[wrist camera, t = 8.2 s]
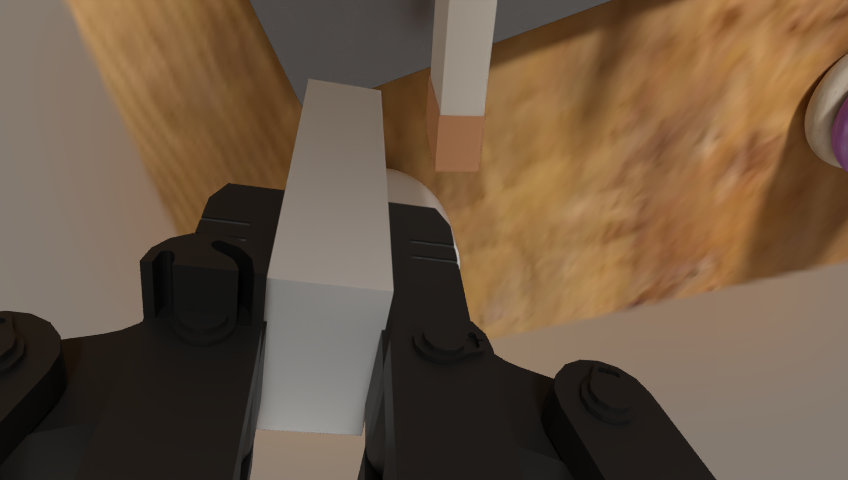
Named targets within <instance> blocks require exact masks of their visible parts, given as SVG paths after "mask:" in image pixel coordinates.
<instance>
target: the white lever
mask: <svg viewBox="0 0 848 480" xmlns="http://www.w3.org/2000/svg"><path fill="white" fill-rule="evenodd" d="M496 7H497V0H435V12H434V28H433V44H432V59H431V75H430V76H429V83H428V99H427V115H426V129H427V134H428V139H429V144H430V149H431V154H432V159H433V164H434V169H435V171H449V172H479V165H480V157H481V148H482V140H483V132H484V123H485V115H484V108H485V99H486V91H487V83H488V74H489V66H490V57H491V49H492V40H493V32H494V24H495V15H496Z"/></svg>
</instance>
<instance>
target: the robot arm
mask: <svg viewBox="0 0 848 480" xmlns="http://www.w3.org/2000/svg"><path fill="white" fill-rule="evenodd" d="M140 271H141V286H142V300H143V314H144V319H143V321H142V322H140V323H139V324H136V325H133V326H131V327H128V328H125V329H123V330H120V331H115V332H110V333H105V334H99V335H92V336H85V337H78V338H70V339H63V340H61V337H60V335H59V334H58V332H57V331H56V330H55V328H54V327H53V326H52V325H51V323H50V322H48V321H46V320H44V319H42V318H39V317H37V316H35V315H32V314H29V313H21V312H12V311H0V480H249V479H250V474H251V468H252V458H253V443H254V437H255V431H256V429H262V430H278V431H295V432H311V433H327V434H344V435H360V436H361V435H362V431H363V427H364V422H365V450H364V454H363V458H362V463H361V467H360V471H359V475H358V480H716V479H715V478H714V476H713V475H712V473H711V472H710V471H709V470H708V468H707V467H706V465H705V464H704V463H703V462H702V460H701V459H700V458H699V456H698V455H697V454H696V452H695V451H694V450H693V448H692V447H691V446H690V445H689V443H688V442H687V441H686V439H685V438H684V437H683V435H682V434H681V433H680V431H679V430H678V429H677V427H676V426H675V425H674V424H673V422H672V421H671V420H670V418H669V417H668V416H667V414H666V413H665V412H664V410H663V409H662V408H661V406H660V405H659V404H658V403H657V401H656V400H655V399H654V397H653V396H652V395H651V393H650V392H649V391H647V390H646V388H645V387H644V386H643V385H642V384H640V382H639V381H638V380H637V379H635V378H634V377H632V376H631V375H629V374H627V373H626V372H624V371H623V370H621V369H619V368H617V367H615V366H612V365H609V364H606V363H603V362H600V361H592V360H578V361H575V362H571V363H568V364H565V365H564V367H563V368H562V369H561V370H560V371H559V372H558V373H557V374H556V376H555V378H554V379H553V378H550V377H547V376H544V375H541V374H538V373H535V372H533V371H530V370H527V369H524V368H521V367H518V366H516V365H514V364H511V363H509V362H507V361H505V360H503V359H502V358H500V357H499V356H497V355H495V354H494V351H493V348H492V346H491V344H490V342H489V340H488V338H487V336H486V334H485V333H484V332H483V331H482V330H480V329H479V328H478V327H477V326H476V325H475V324H474V323H473V322H471V321H470V317H469V312H468V307H467V303H466V298H465V293H464V288H463V284H462V279H461V274H460V269H459V265H458V264H457V255H456V250H455V248H454V241H453V236H452V231H451V227H450V225H449V224H448V222H447V221H446V220H445V219H444V218H443V216H442V215H441V214H440V213H439V212H438V210H437V209H436V208H431V207H423V206H415V205H408V204H400V203H393V202H388V193H387V177H386V161H385V145H384V129H383V113H382V97H381V90H375V89H369V88H363V87H357V86H351V85H345V84H338V83H332V82H326V81H320V80H314V79H308V84H307V88H306V93H305V98H304V103H303V108H302V112H301V117H300V122H299V127H298V131H297V136H296V141H295V146H294V151H293V155H292V160H291V165H290V170H289V174H288V179H287V184H286V189H285V190H277V189H269V188H262V187H254V186H246V185H239V184H231V183H228V184H227V185H226V186H224V187H223V188H221V189H220V190H219V191H217V192H216V193H215V194H213V195H212V196H211V197H209V199H208V202H207V204H206V207H205V209H204V212H203V214H202V218H201V220H200V222H199V224H198V227H197V229H196V231H195V233H192V234H187V235H183V236H178V237H173V238H169V239H167V240H165V241H163V242H161V243H160V244H158V245H156V246H154V247H152V248H151V249H150V250H149V251H148V252H147V253H146V254H145V256H144V257H143V258H142V259H141V260H140Z"/></svg>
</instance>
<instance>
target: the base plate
mask: <svg viewBox="0 0 848 480" xmlns="http://www.w3.org/2000/svg"><path fill="white" fill-rule="evenodd" d="M249 1H250V3H251V5H252V7H253V9H254V11H255V13H256V15H257V17H258V19H259V21H260V23H261V25H262V27H263V29H264V31H265V33H266V35H267V37H268V39H269V41H270V43H271V45H272V47H273V49H274V51H275V54H276V56H277V58H278V60H279V62H280V64H281V66H282V68H283V70H284V72H285V74H286V76H287V78H288V80H289V82H290V84H291V86H292V88H293V90H294V92H295V94H296V96H297V98H298V100H299V102H300V104H301V106H302V108H303V103H304V98H305V93H306V88H307V84H308V79H314V80H320V81H326V82H332V83H338V84H345V85H351V86H357V87H363V88H369V89H371V88H374V87H377V86H379V85H382V84H385V83H387V82H390V81H393V80H396V79H398V78H401V77H404V76H406V75H409V74H412V73H415V72H417V71H420V70H423V69H426V68H428V67H431V59H432V44H433V28H434V12H435V0H249ZM608 1H611V0H497V7H496V15H495V24H494V32H493V40H492V44H494V43H496V42H499V41H502V40H505V39H507V38H510V37H513V36H515V35H518V34H521V33H524V32H526V31H529V30H532V29H535V28H537V27H540V26H543V25H545V24H548V23H551V22H554V21H556V20H559V19H562V18H565V17H567V16H570V15H573V14H575V13H578V12H581V11H584V10H586V9H589V8H592V7H594V6H597V5H600V4H603V3H605V2H608Z"/></svg>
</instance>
